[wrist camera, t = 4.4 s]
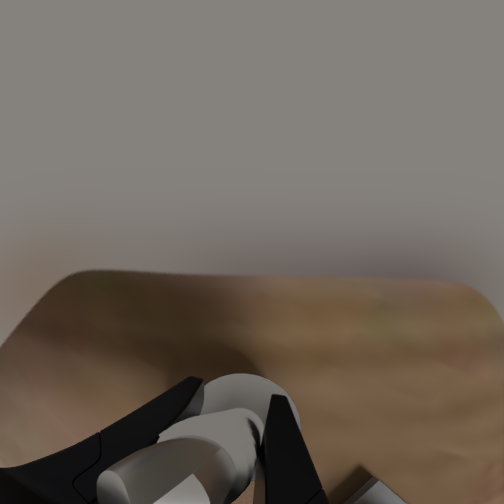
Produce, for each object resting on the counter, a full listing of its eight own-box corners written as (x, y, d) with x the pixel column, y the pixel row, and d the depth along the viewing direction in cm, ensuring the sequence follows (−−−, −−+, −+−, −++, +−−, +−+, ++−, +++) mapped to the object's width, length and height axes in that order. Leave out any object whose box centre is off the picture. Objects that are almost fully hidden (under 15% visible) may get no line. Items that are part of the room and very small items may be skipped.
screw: (317, 423, 13) (245, 489, 12) (245, 356, 15) (175, 421, 14) (487, 485, 2) (166, 683, 1) (157, 193, 4) (-63, 426, 2)
